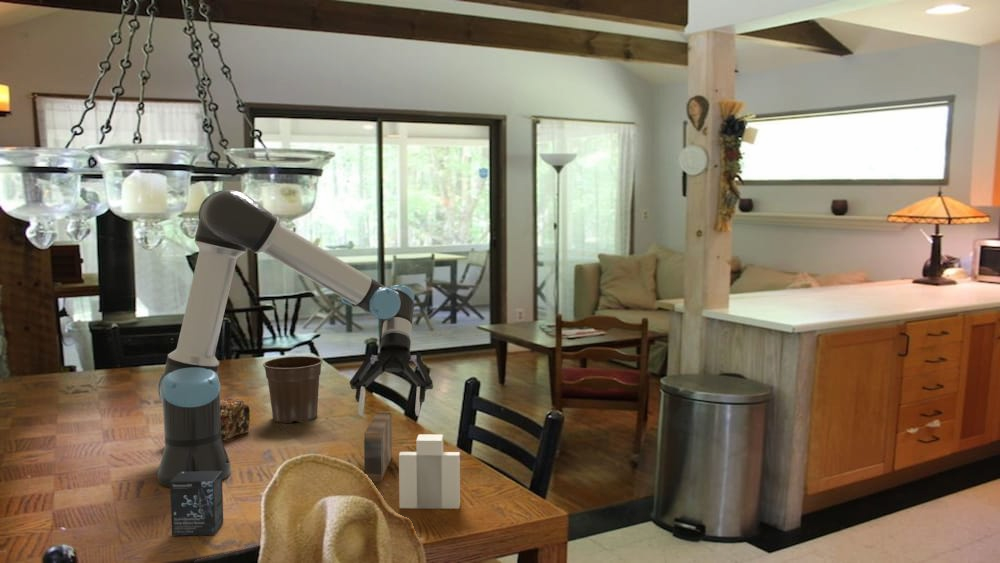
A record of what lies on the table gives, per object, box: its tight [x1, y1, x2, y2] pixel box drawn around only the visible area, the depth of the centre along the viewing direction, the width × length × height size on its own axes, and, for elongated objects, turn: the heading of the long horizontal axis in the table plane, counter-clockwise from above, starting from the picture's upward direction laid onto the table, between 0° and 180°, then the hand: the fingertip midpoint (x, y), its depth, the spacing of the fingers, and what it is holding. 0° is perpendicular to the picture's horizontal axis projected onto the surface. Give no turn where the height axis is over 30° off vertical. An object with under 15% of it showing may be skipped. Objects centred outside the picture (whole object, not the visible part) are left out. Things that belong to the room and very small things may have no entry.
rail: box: [363, 412, 393, 483], centre depth 177 cm, size 16×4×11 cm, turn 0°
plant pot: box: [262, 355, 324, 424], centre depth 217 cm, size 16×16×16 cm
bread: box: [220, 396, 251, 442], centre depth 199 cm, size 19×11×10 cm, turn 149°
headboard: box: [398, 433, 461, 510], centre depth 158 cm, size 8×12×14 cm, turn 89°
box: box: [169, 471, 224, 537], centre depth 144 cm, size 8×6×11 cm
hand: (388, 413), depth 184 cm, fingers open, 13 cm apart
